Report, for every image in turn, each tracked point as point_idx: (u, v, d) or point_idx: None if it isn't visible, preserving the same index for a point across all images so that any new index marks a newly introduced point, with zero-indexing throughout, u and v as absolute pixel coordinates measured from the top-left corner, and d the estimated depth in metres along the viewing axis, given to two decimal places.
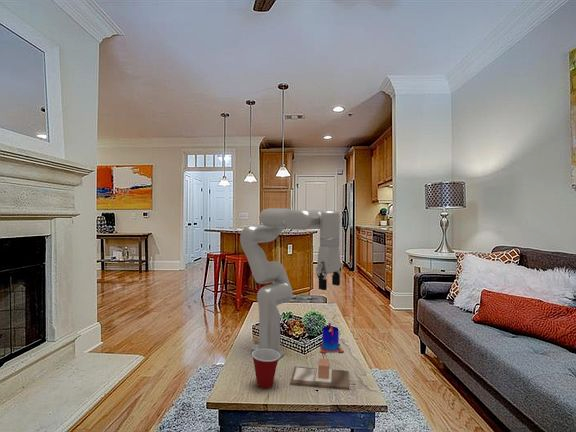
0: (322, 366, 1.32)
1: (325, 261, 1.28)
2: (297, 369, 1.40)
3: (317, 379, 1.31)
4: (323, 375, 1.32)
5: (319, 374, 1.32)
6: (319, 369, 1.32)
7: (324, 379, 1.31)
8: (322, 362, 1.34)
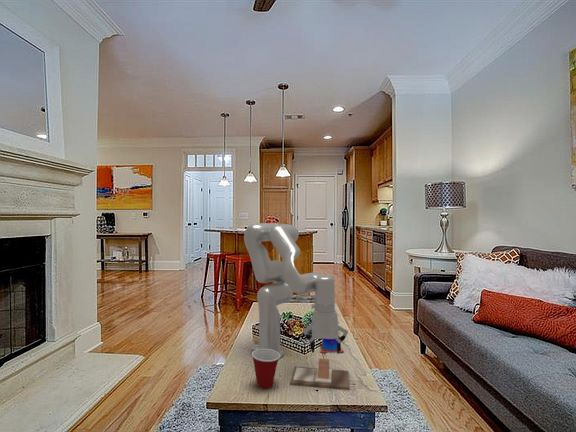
0: (322, 366, 1.32)
1: None
2: (297, 369, 1.40)
3: (317, 379, 1.31)
4: (323, 375, 1.32)
5: (319, 374, 1.32)
6: (319, 369, 1.32)
7: (324, 379, 1.31)
8: (322, 362, 1.34)
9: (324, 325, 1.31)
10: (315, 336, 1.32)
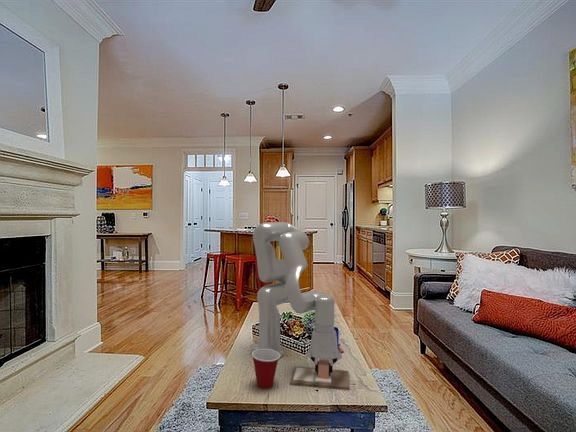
0: (322, 366, 1.32)
1: None
2: (297, 369, 1.40)
3: (317, 379, 1.31)
4: (323, 375, 1.32)
5: (319, 374, 1.32)
6: (319, 369, 1.32)
7: (324, 379, 1.31)
8: (322, 362, 1.34)
9: (323, 345, 1.32)
10: (314, 355, 1.32)
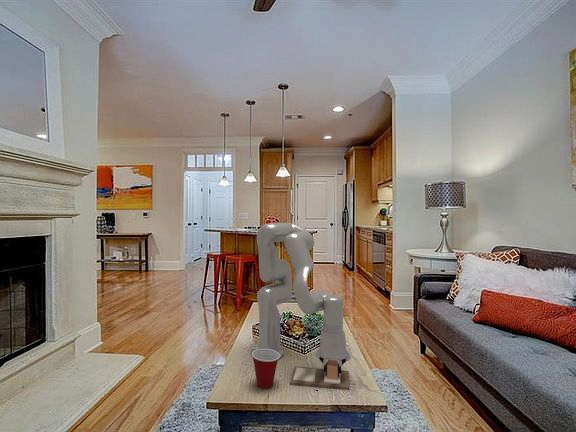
0: (331, 367, 1.31)
1: None
2: (297, 369, 1.40)
3: (326, 380, 1.31)
4: (332, 375, 1.31)
5: (328, 375, 1.32)
6: (328, 370, 1.32)
7: (333, 380, 1.31)
8: (330, 363, 1.34)
9: (332, 345, 1.31)
10: (323, 356, 1.32)
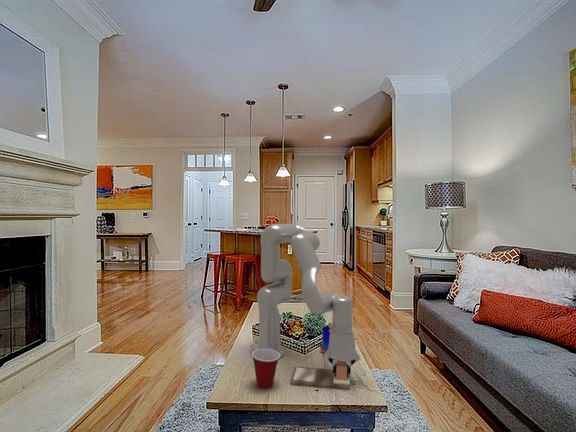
0: (341, 367, 1.31)
1: None
2: (297, 369, 1.40)
3: (335, 381, 1.30)
4: (341, 376, 1.31)
5: (337, 375, 1.31)
6: (337, 370, 1.31)
7: (342, 381, 1.30)
8: (339, 363, 1.33)
9: (341, 346, 1.31)
10: (332, 357, 1.31)
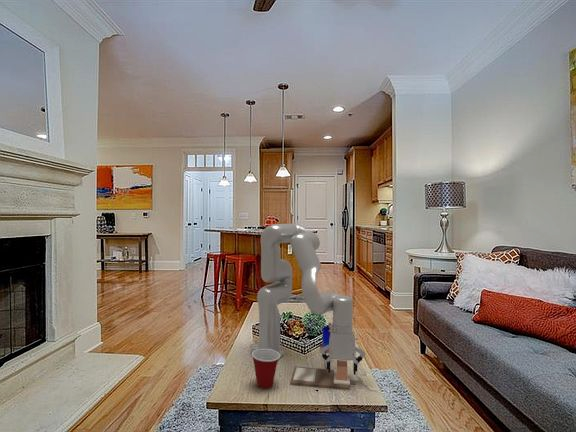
0: (341, 368, 1.31)
1: None
2: (297, 369, 1.40)
3: (336, 381, 1.30)
4: (341, 376, 1.31)
5: (337, 376, 1.31)
6: (337, 370, 1.31)
7: (342, 381, 1.30)
8: (340, 363, 1.33)
9: (341, 346, 1.31)
10: (332, 357, 1.31)
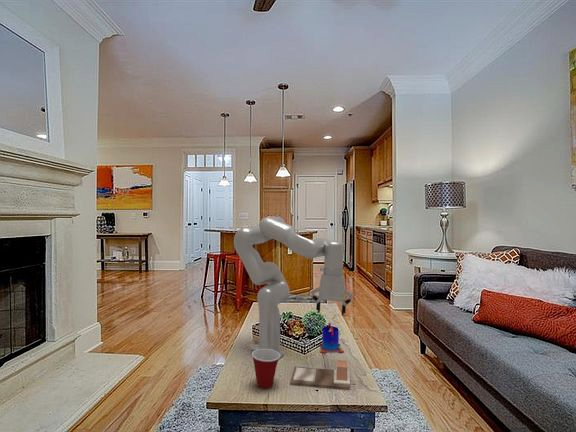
0: (341, 368, 1.31)
1: None
2: (297, 369, 1.40)
3: (336, 381, 1.30)
4: (341, 376, 1.31)
5: (337, 376, 1.31)
6: (337, 370, 1.31)
7: (342, 381, 1.30)
8: (340, 363, 1.33)
9: (331, 288, 1.37)
10: (322, 297, 1.38)
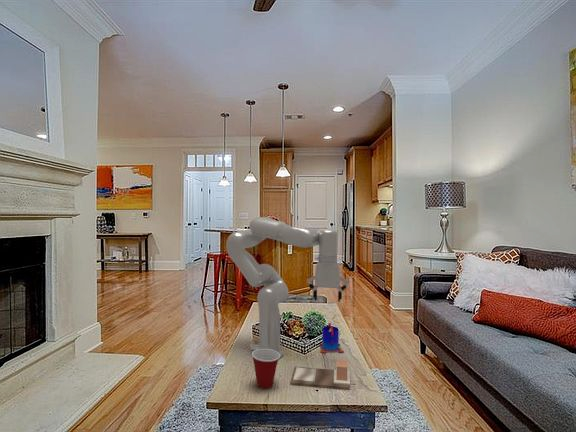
0: (341, 368, 1.31)
1: None
2: (297, 369, 1.40)
3: (336, 381, 1.30)
4: (341, 376, 1.31)
5: (337, 376, 1.31)
6: (337, 370, 1.31)
7: (342, 381, 1.30)
8: (340, 363, 1.33)
9: (327, 275, 1.41)
10: (318, 285, 1.42)
